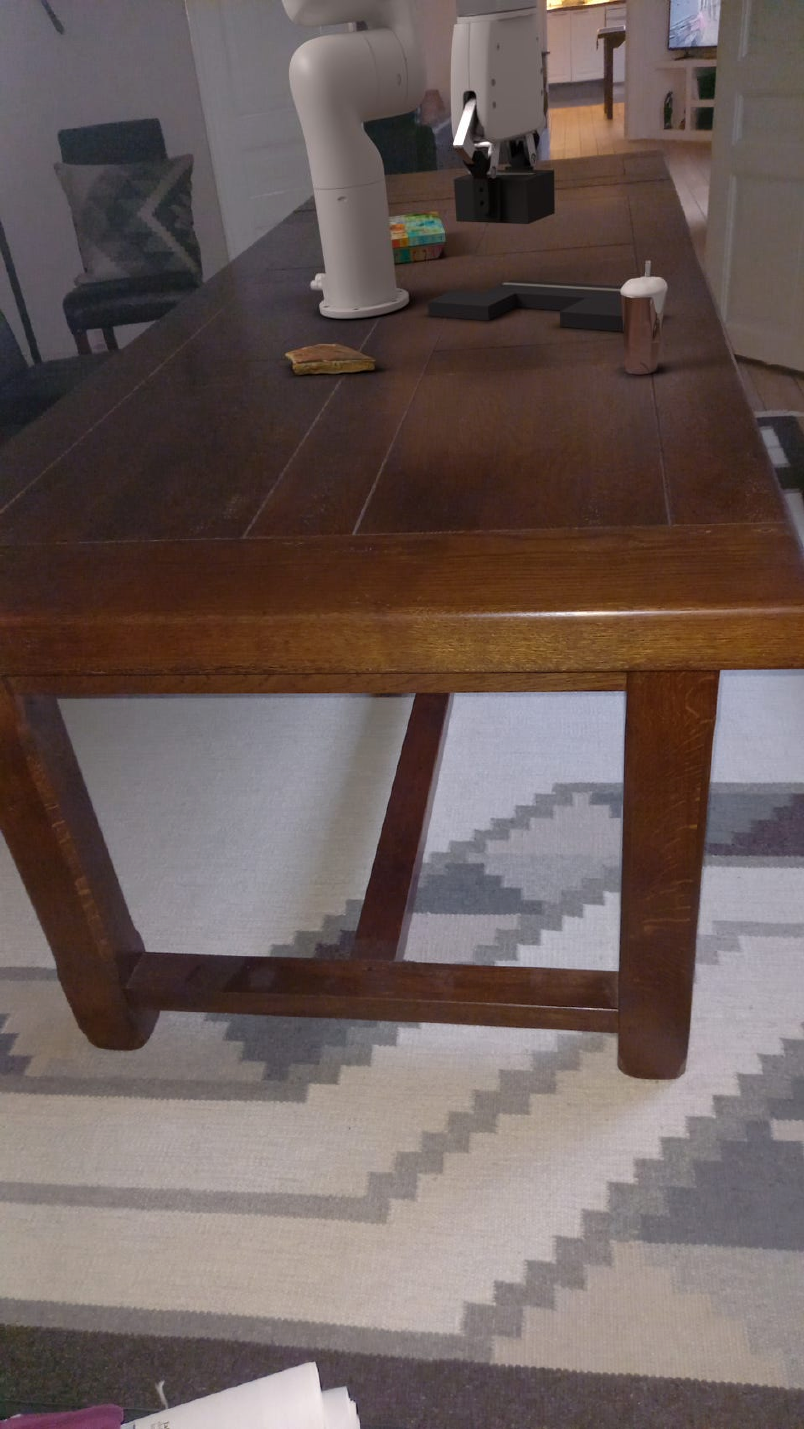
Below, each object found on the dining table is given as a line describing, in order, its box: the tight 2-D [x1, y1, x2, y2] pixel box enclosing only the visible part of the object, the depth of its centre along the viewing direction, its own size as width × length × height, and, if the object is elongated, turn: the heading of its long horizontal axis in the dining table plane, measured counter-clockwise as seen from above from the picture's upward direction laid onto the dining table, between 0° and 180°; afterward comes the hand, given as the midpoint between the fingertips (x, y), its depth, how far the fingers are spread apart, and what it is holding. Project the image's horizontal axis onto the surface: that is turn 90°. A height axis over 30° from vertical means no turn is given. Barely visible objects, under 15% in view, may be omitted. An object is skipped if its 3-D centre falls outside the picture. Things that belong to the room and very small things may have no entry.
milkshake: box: [620, 260, 668, 376], centre depth 100 cm, size 4×5×10 cm
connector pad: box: [453, 169, 556, 225], centre depth 101 cm, size 9×5×4 cm, turn 51°
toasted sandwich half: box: [285, 342, 377, 376], centre depth 115 cm, size 11×8×2 cm
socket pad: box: [427, 279, 623, 333], centre depth 125 cm, size 30×12×2 cm, turn 52°
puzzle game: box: [389, 211, 447, 265], centre depth 165 cm, size 12×5×20 cm
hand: (504, 213), depth 102 cm, fingers closed on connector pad, 5 cm apart
